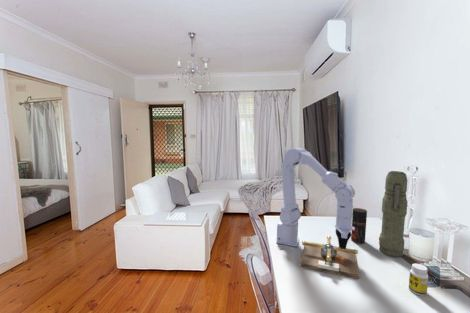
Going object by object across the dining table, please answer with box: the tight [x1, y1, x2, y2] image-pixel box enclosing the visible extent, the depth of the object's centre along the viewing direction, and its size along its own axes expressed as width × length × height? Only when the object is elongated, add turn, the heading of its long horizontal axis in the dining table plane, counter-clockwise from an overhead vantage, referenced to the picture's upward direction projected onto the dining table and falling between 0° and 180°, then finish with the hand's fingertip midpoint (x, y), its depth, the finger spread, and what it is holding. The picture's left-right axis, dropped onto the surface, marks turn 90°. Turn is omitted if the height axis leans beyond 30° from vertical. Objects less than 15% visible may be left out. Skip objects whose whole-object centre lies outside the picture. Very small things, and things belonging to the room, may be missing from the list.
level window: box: [318, 260, 339, 272], centre depth 88 cm, size 7×3×2 cm, turn 69°
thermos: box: [378, 170, 409, 258], centre depth 102 cm, size 9×12×35 cm
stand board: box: [299, 243, 360, 280], centre depth 97 cm, size 20×20×2 cm
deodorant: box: [350, 207, 368, 244], centre depth 114 cm, size 6×6×15 cm
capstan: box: [301, 235, 359, 264], centre depth 97 cm, size 21×21×4 cm
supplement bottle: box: [408, 263, 429, 297], centre depth 78 cm, size 5×5×8 cm
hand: (342, 248), depth 97 cm, fingers closed
